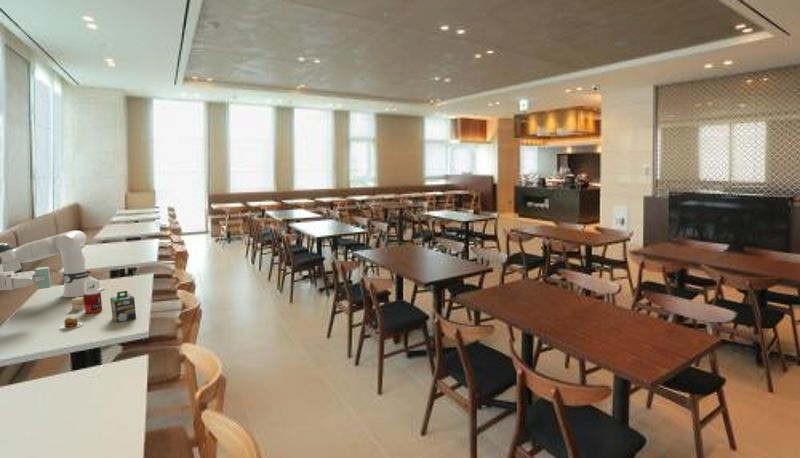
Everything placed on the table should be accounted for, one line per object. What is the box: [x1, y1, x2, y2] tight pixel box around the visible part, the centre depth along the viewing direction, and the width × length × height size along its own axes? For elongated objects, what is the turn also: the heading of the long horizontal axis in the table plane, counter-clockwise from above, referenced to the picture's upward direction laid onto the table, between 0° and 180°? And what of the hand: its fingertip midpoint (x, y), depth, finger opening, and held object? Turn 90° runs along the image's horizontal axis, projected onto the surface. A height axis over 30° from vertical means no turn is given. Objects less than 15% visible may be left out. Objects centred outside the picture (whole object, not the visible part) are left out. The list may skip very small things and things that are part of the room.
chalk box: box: [109, 290, 137, 323], centre depth 234 cm, size 9×9×15 cm
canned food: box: [83, 290, 103, 315], centre depth 245 cm, size 8×8×11 cm
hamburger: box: [59, 316, 83, 331], centre depth 223 cm, size 12×12×6 cm
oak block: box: [71, 296, 85, 311], centre depth 251 cm, size 5×5×6 cm
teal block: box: [35, 266, 52, 290], centre depth 231 cm, size 5×5×10 cm
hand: (45, 276), depth 231 cm, fingers closed on teal block, 5 cm apart
